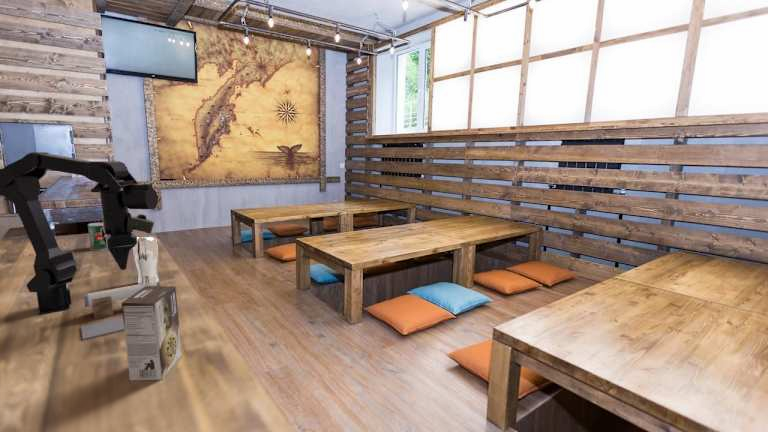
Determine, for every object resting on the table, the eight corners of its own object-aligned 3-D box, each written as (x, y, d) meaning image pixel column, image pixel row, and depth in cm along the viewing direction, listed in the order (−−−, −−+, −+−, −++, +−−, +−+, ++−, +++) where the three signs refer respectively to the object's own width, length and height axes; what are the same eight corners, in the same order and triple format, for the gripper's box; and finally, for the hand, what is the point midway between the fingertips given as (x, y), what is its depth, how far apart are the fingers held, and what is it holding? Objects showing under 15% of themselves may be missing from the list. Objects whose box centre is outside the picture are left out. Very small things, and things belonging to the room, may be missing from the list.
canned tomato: (103, 250, 166) (101, 225, 165) (85, 250, 167) (82, 225, 165) (116, 246, 174) (114, 222, 172) (99, 245, 174) (96, 222, 173)
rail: (85, 307, 100) (84, 297, 99) (84, 303, 102) (83, 294, 101) (160, 292, 111) (159, 283, 110) (158, 289, 113) (157, 280, 112)
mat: (82, 340, 89) (82, 338, 89) (81, 328, 95) (80, 326, 95) (177, 317, 102) (177, 316, 102) (170, 307, 108) (170, 306, 108)
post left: (94, 319, 100) (92, 302, 99) (93, 312, 104) (91, 296, 104) (113, 315, 103) (111, 298, 102) (111, 309, 107) (109, 293, 106)
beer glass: (149, 286, 124) (145, 241, 122) (131, 285, 126) (126, 240, 123) (165, 279, 131) (161, 237, 128) (148, 278, 132) (144, 235, 130)
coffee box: (151, 356, 83) (145, 285, 80) (182, 355, 84) (177, 284, 81) (127, 381, 74) (119, 302, 71) (162, 380, 75) (155, 301, 72)
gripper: (156, 210, 100) (161, 268, 103) (143, 202, 114) (148, 253, 117) (104, 214, 93) (111, 276, 96) (97, 205, 107) (103, 259, 110)
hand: (121, 265), depth 105 cm, fingers open, 9 cm apart
